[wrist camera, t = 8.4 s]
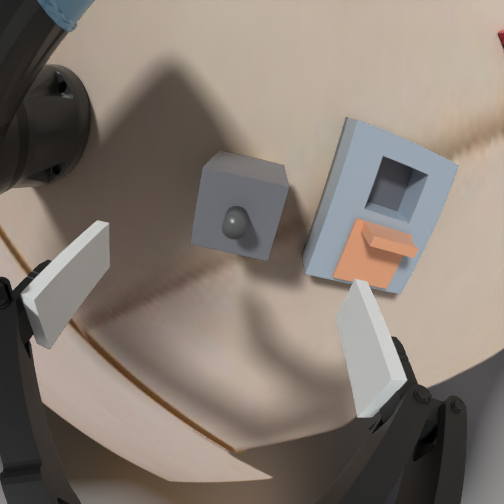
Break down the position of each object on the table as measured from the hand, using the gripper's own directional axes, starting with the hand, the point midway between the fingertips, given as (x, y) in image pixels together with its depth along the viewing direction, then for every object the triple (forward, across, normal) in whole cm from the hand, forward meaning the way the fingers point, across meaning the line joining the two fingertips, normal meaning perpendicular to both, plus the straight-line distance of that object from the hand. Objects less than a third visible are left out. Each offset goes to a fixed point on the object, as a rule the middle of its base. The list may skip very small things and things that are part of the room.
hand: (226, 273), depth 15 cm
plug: (+17, 0, 0) cm, 17 cm away
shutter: (+13, +14, -3) cm, 19 cm away
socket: (+17, +14, +1) cm, 22 cm away
